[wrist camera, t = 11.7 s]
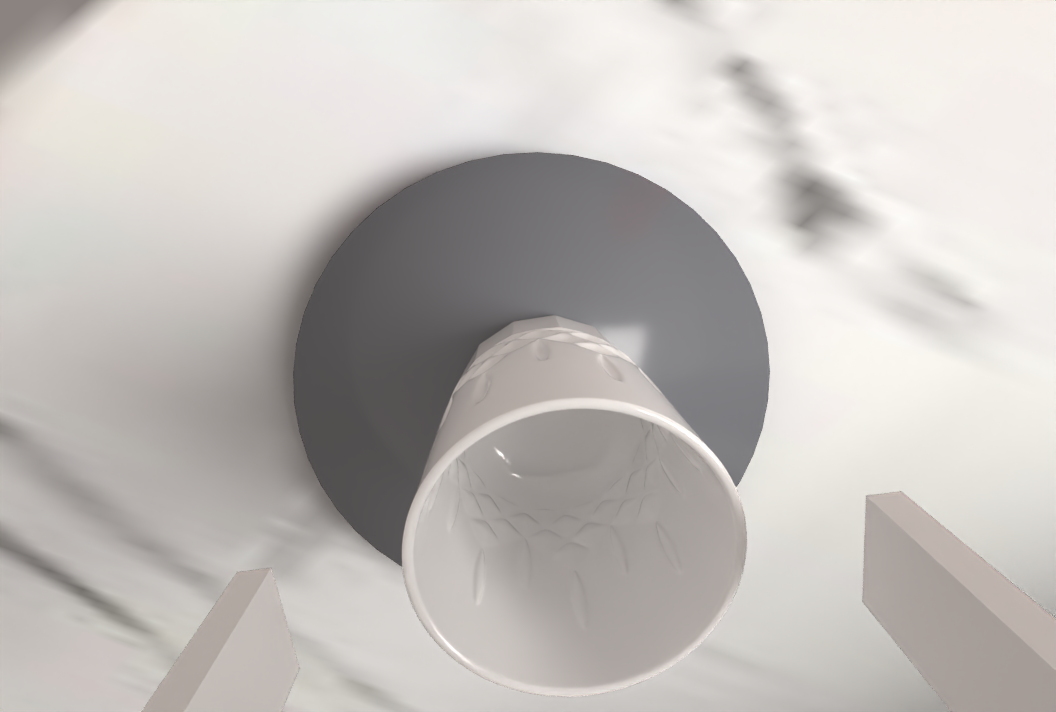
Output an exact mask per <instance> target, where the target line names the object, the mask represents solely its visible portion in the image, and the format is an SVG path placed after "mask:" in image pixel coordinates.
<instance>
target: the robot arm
mask: <svg viewBox="0 0 1056 712" xmlns="http://www.w3.org/2000/svg"><path fill="white" fill-rule="evenodd" d="M862 602H863V603H864V604H865V606H866V607H867V608H868V609H869V611H870V612H871V613H872V614H873V616H874V617H875V618H876V619H877V621H878V622H879V623H880V624H881V625H882V627H883V628H884V629H885V630H886V632H887V633H888V634H889V635H890V637H891V638H892V639H893V640H894V642H895V643H896V644H897V645H898V646H899V648H900V649H901V650H902V651H903V653H904V654H905V655H906V656H907V658H908V659H909V660H910V661H911V663H912V664H913V665H914V666H915V668H916V669H917V670H918V671H919V672H920V674H921V675H922V676H923V677H924V679H925V680H926V681H927V682H928V684H929V685H930V686H931V687H932V689H933V690H934V691H935V692H936V693H937V695H938V696H939V697H940V698H941V700H942V701H943V702H944V703H945V705H946V706H947V707H948V708H949V710H950V711H951V712H1056V619H1055V618H1054V617H1052V616H1051V615H1050V614H1049V613H1048V612H1046V611H1045V610H1044V609H1043V608H1041V607H1040V606H1039V605H1038V604H1037V603H1035V602H1034V601H1033V600H1032V599H1031V598H1029V597H1028V596H1027V595H1026V594H1025V593H1023V592H1022V591H1021V590H1020V589H1019V588H1017V587H1016V586H1015V585H1014V584H1013V583H1011V582H1010V581H1009V580H1008V579H1006V578H1005V577H1004V576H1003V575H1002V574H1000V573H999V572H998V571H997V570H996V569H994V568H993V567H992V566H991V565H990V564H988V563H987V562H986V561H985V560H984V559H982V558H981V557H980V556H979V555H978V554H976V553H975V552H974V551H973V550H971V549H970V548H969V547H968V546H967V545H965V544H964V543H963V542H962V541H961V540H959V539H958V538H957V537H956V536H955V535H953V534H952V533H951V532H950V531H949V530H947V529H946V528H945V527H944V526H942V525H941V524H940V523H939V522H938V521H936V520H935V519H934V518H933V517H932V516H930V515H929V514H928V513H927V512H926V511H924V510H923V509H922V508H921V507H920V506H918V505H917V504H916V503H915V502H914V501H912V500H911V499H910V498H909V497H907V496H906V495H905V494H904V493H903V492H901V491H900V492H892V493H884V494H875V495H867V496H866V513H865V540H864V568H863V596H862ZM299 669H300V668H299V664H298V661H297V657H296V654H295V650H294V647H293V643H292V639H291V636H290V632H289V629H288V625H287V622H286V618H285V615H284V611H283V608H282V604H281V600H280V597H279V593H278V590H277V586H276V583H275V579H274V576H273V572H272V568H266V569H258V570H250V571H242V572H237V573H236V574H235V576H234V577H233V579H232V580H231V582H230V583H229V585H228V586H227V587H226V589H225V590H224V592H223V593H222V595H221V596H220V598H219V599H218V601H217V602H216V604H215V605H214V606H213V608H212V609H211V611H210V612H209V614H208V615H207V617H206V618H205V620H204V621H203V622H202V624H201V625H200V627H199V628H198V630H197V631H196V633H195V634H194V636H193V637H192V639H191V640H190V641H189V643H188V644H187V646H186V647H185V649H184V650H183V652H182V653H181V655H180V656H179V657H178V659H177V660H176V662H175V663H174V665H173V666H172V668H171V669H170V671H169V672H168V674H167V675H166V676H165V678H164V679H163V681H162V682H161V684H160V685H159V687H158V688H157V690H156V691H155V692H154V694H153V695H152V697H151V698H150V700H149V701H148V703H147V704H146V706H145V707H144V709H143V710H142V711H141V712H282V709H283V707H284V705H285V702H286V700H287V698H288V695H289V693H290V690H291V688H292V686H293V683H294V681H295V679H296V676H297V674H298V672H299Z"/></svg>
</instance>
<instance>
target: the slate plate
mask: <svg viewBox="0 0 1056 712" xmlns="http://www.w3.org/2000/svg"><path fill="white" fill-rule="evenodd" d="M551 315H557V316H560V317H563V318H567V319H570V320H574V321H577V322H580V323H584V324H587V325H591V326H594V327H595V328H596V329H597V330H598V331H600V332H601V333H602V334H603V335H604V336H605V337H606V338H607V339H608V340H609V341H610V342H611V343H613V344H614V345H615V346H616V347H617V348H618V349H619V350H620V351H622V352H623V353H625V354H626V355H627V356H628V357H629V358H630V359H631V360H632V361H633V362H634V363H635V364H636V365H637V366H638V367H639V368H640V369H641V370H642V371H643V372H644V373H645V374H646V375H647V376H648V377H649V378H650V379H651V380H652V382H653V383H654V384H655V385H656V386H657V387H658V388H659V390H660V391H661V392H662V393H663V394H664V395H665V397H666V398H667V399H668V400H669V401H670V403H671V404H672V405H673V406H674V407H675V409H676V410H677V411H678V412H679V413H680V415H681V416H682V417H683V418H684V419H685V420H686V422H687V423H688V424H689V425H690V426H691V428H692V429H693V430H694V431H695V432H696V433H697V434H698V436H699V437H700V438H701V439H702V440H703V441H704V443H705V444H706V445H707V446H708V447H709V448H710V449H711V451H712V452H713V453H714V454H715V455H716V456H717V458H718V459H719V460H720V462H721V463H722V464H723V466H724V467H725V469H726V470H727V472H728V474H729V475H730V477H731V479H732V481H733V483H734V485H735V487H737V485H738V484H739V482H740V481H741V479H742V477H743V475H744V473H745V471H746V469H747V466H748V464H749V462H750V460H751V458H752V456H753V454H754V451H755V448H756V445H757V442H758V439H759V436H760V434H761V431H762V427H763V422H764V417H765V412H766V407H767V402H768V391H769V375H770V368H769V355H768V342H767V338H766V333H765V329H764V324H763V319H762V315H761V311H760V309H759V306H758V303H757V301H756V298H755V296H754V293H753V290H752V288H751V285H750V283H749V281H748V279H747V278H746V276H745V274H744V272H743V270H742V268H741V267H740V265H739V263H738V261H737V259H736V258H735V256H734V255H733V254H732V252H731V251H730V250H729V248H728V247H727V246H726V244H725V243H724V242H723V240H722V239H721V238H720V236H719V235H718V234H717V232H716V231H715V230H714V229H713V228H712V227H711V226H710V225H709V224H708V223H706V222H705V221H704V220H703V219H702V218H701V217H700V216H699V215H698V214H697V213H696V212H695V211H694V210H693V209H692V208H691V207H689V206H688V205H687V204H685V203H684V202H682V201H681V200H680V199H678V198H677V197H676V196H674V195H673V194H672V193H670V192H669V191H668V190H666V189H664V188H662V187H660V186H658V185H657V184H655V183H653V182H651V181H649V180H647V179H646V178H644V177H642V176H640V175H638V174H636V173H633V172H630V171H628V170H625V169H622V168H619V167H617V166H614V165H611V164H609V163H606V162H601V161H597V160H592V159H588V158H583V157H579V156H574V155H564V154H551V153H538V152H537V153H520V154H504V155H498V156H493V157H488V158H483V159H478V160H473V161H468V162H465V163H463V164H460V165H457V166H454V167H451V168H448V169H445V170H443V171H440V172H437V173H435V174H433V175H431V176H429V177H427V178H425V179H423V180H421V181H419V182H417V183H415V184H413V185H411V186H409V187H407V188H405V189H404V190H402V191H401V192H400V193H398V194H397V195H395V196H394V197H392V198H391V199H390V200H388V201H387V202H385V203H384V204H382V205H381V206H380V207H378V208H377V209H376V210H375V211H374V212H373V213H372V214H371V215H369V216H368V217H367V218H366V219H365V220H364V221H363V222H362V223H361V224H360V225H359V226H358V227H357V228H356V229H355V230H353V232H352V233H351V234H350V235H349V237H348V238H347V239H346V240H345V242H344V243H343V244H342V245H341V247H340V248H339V249H338V250H337V251H336V253H335V254H334V255H333V256H332V258H331V260H330V261H329V263H328V265H327V267H326V268H325V270H324V272H323V273H322V275H321V277H320V278H319V280H318V282H317V283H316V286H315V288H314V290H313V293H312V295H311V298H310V300H309V303H308V305H307V307H306V310H305V312H304V315H303V319H302V323H301V327H300V331H299V335H298V339H297V343H296V353H295V362H294V372H293V378H294V403H295V409H296V414H297V420H298V425H299V431H300V435H301V438H302V441H303V444H304V447H305V450H306V453H307V456H308V459H309V461H310V463H311V465H312V467H313V469H314V471H315V473H316V475H317V478H318V480H319V482H320V484H321V486H322V487H323V489H324V490H325V492H326V493H327V495H328V496H329V498H330V499H331V501H332V502H333V504H334V505H335V507H336V508H337V510H338V511H339V512H340V513H341V514H342V515H343V516H344V518H345V519H346V520H347V521H348V522H349V523H350V525H351V526H352V527H353V528H354V529H355V530H356V531H357V532H358V533H359V534H360V535H361V536H362V537H364V538H365V539H366V540H367V541H368V542H369V543H370V544H371V545H372V546H374V547H375V548H376V549H377V550H379V551H380V552H381V553H383V554H384V555H386V556H387V557H389V558H390V559H391V560H393V561H394V562H396V563H397V564H399V565H400V566H402V540H403V533H404V528H405V523H406V519H407V516H408V512H409V509H410V507H411V504H412V501H413V498H414V496H415V493H416V490H417V487H418V485H419V482H420V479H421V476H422V473H423V471H424V468H425V465H426V462H427V459H428V456H429V453H430V450H431V448H432V445H433V442H434V439H435V436H436V433H437V430H438V427H439V425H440V422H441V419H442V417H443V415H444V412H445V410H446V408H447V405H448V403H449V400H450V398H451V396H452V393H453V391H454V389H455V387H456V385H457V383H458V381H459V379H460V377H461V375H462V373H463V372H464V370H465V368H466V367H467V365H468V363H469V361H470V360H471V358H472V356H473V354H474V353H475V351H476V349H477V347H478V346H479V344H481V343H482V342H484V341H485V340H486V339H488V338H489V337H491V336H492V335H494V334H495V333H497V332H498V331H500V330H501V329H503V328H504V327H506V326H507V325H509V324H510V323H512V322H513V321H519V320H525V319H532V318H538V317H545V316H551Z"/></svg>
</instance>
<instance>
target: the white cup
mask: <svg viewBox="0 0 1056 712" xmlns="http://www.w3.org/2000/svg"><path fill="white" fill-rule="evenodd" d="M746 550H747V531H746V522H745V516H744V511H743V507H742V503H741V500H740V497H739V494H738V492H737V489H736V487H735V485H734V483H733V481H732V479H731V477H730V475H729V474H728V472H727V470H726V469H725V467H724V466H723V464H722V463H721V462H720V460H719V459H718V458H717V456H716V455H715V454H714V453H713V452H712V451H711V449H710V448H709V447H708V446H707V445H706V444H705V443H704V441H703V440H702V439H701V438H700V437H699V436H698V434H697V433H696V432H695V431H694V430H693V429H692V428H691V426H690V425H689V424H688V423H687V422H686V420H685V419H684V418H683V417H682V416H681V415H680V413H679V412H678V411H677V410H676V409H675V407H674V406H673V405H672V404H671V403H670V401H669V400H668V399H667V398H666V397H665V395H664V394H663V393H662V392H661V391H660V390H659V388H658V387H657V386H656V385H655V384H654V383H653V382H652V380H651V379H650V378H649V377H648V376H647V375H646V374H645V373H644V372H643V371H642V370H641V369H640V368H639V367H638V366H637V365H636V364H635V363H634V362H633V361H632V360H631V359H630V358H629V357H628V356H627V355H626V354H625V353H623V352H622V351H620V350H619V349H618V348H617V347H616V346H615V345H614V344H613V343H611V342H610V341H609V340H608V339H607V338H606V337H605V336H604V335H603V334H602V333H601V332H600V331H598V330H597V329H596V328H595V327H594V326H591V325H587V324H584V323H580V322H577V321H574V320H570V319H567V318H563V317H560V316H557V315H551V316H545V317H538V318H532V319H525V320H519V321H513V322H512V323H510V324H509V325H507V326H506V327H504V328H503V329H501V330H500V331H498V332H497V333H495V334H494V335H492V336H491V337H489V338H488V339H486V340H485V341H484V342H482V343H481V344H479V346H478V347H477V349H476V351H475V353H474V354H473V356H472V358H471V360H470V361H469V363H468V365H467V367H466V368H465V370H464V372H463V373H462V375H461V377H460V379H459V381H458V383H457V385H456V387H455V389H454V391H453V393H452V396H451V398H450V400H449V403H448V405H447V408H446V410H445V412H444V415H443V417H442V419H441V422H440V425H439V427H438V430H437V433H436V436H435V439H434V442H433V445H432V448H431V450H430V453H429V456H428V459H427V462H426V465H425V468H424V471H423V473H422V476H421V479H420V482H419V485H418V487H417V490H416V493H415V496H414V498H413V501H412V504H411V507H410V509H409V512H408V516H407V519H406V523H405V528H404V533H403V540H402V568H403V576H404V581H405V585H406V589H407V593H408V596H409V598H410V601H411V604H412V606H413V608H414V610H415V612H416V614H417V616H418V618H419V620H420V621H421V623H422V625H423V626H424V628H425V629H426V631H427V632H428V633H429V635H430V636H431V637H432V638H433V639H434V641H435V642H436V643H437V644H438V645H439V646H440V647H441V648H442V649H443V650H444V651H445V652H446V653H447V654H448V655H449V656H451V657H452V658H453V659H454V660H456V661H457V662H458V663H460V664H461V665H462V666H464V667H465V668H467V669H468V670H470V671H472V672H473V673H475V674H477V675H479V676H481V677H483V678H485V679H487V680H489V681H491V682H493V683H496V684H498V685H501V686H504V687H507V688H510V689H514V690H517V691H521V692H526V693H531V694H537V695H544V696H558V697H574V696H587V695H595V694H601V693H606V692H611V691H615V690H619V689H623V688H626V687H629V686H632V685H635V684H637V683H640V682H642V681H645V680H647V679H649V678H651V677H654V676H656V675H657V674H659V673H661V672H663V671H665V670H667V669H668V668H670V667H671V666H673V665H675V664H676V663H678V662H679V661H680V660H682V659H683V658H684V657H686V656H687V655H688V654H689V653H691V652H692V651H693V650H694V649H695V648H696V647H698V646H699V645H700V644H701V643H702V642H703V641H704V640H705V639H706V638H707V636H708V635H709V634H710V633H711V632H712V631H713V630H714V628H715V627H716V626H717V624H718V623H719V622H720V620H721V619H722V617H723V616H724V614H725V613H726V611H727V609H728V608H729V606H730V604H731V602H732V600H733V598H734V596H735V594H736V591H737V589H738V586H739V583H740V580H741V577H742V574H743V569H744V565H745V559H746Z"/></svg>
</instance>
